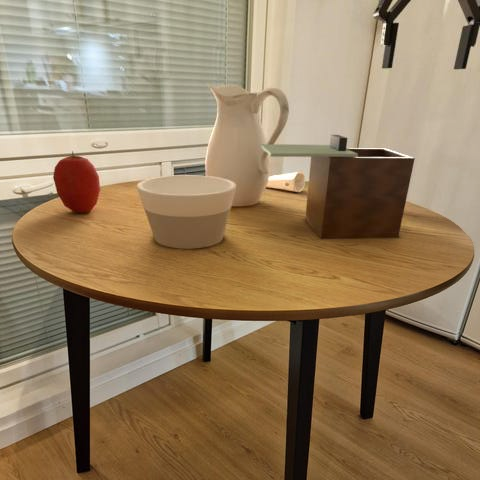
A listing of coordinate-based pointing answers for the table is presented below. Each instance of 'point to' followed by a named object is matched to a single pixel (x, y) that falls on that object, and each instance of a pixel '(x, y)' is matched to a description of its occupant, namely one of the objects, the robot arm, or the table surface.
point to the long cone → (287, 182)
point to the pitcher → (242, 141)
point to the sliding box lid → (311, 149)
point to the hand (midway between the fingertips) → (423, 69)
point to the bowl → (187, 209)
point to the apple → (77, 183)
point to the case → (358, 193)
